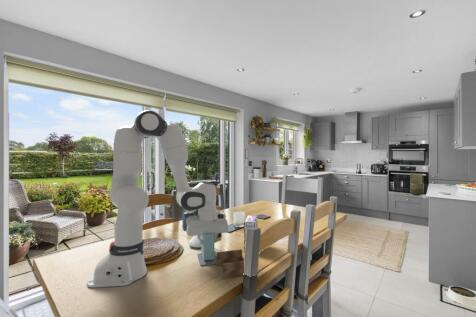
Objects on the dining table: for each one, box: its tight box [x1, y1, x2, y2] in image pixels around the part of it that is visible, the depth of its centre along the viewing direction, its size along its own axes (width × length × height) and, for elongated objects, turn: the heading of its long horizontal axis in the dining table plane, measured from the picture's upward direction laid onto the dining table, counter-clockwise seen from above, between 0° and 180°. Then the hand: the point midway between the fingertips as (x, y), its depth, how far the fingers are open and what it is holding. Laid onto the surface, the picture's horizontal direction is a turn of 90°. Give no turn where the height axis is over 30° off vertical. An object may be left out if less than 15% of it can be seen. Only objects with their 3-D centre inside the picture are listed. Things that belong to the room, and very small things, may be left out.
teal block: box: [200, 233, 215, 260], centre depth 118 cm, size 5×9×12 cm, turn 16°
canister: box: [181, 208, 199, 231], centre depth 167 cm, size 13×13×18 cm
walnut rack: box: [216, 249, 245, 280], centre depth 108 cm, size 12×13×6 cm
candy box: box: [243, 215, 259, 253], centre depth 132 cm, size 14×6×16 cm, turn 168°
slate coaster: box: [196, 251, 217, 267], centre depth 119 cm, size 9×13×1 cm
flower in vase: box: [185, 210, 201, 249], centre depth 136 cm, size 13×11×25 cm
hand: (207, 242), depth 118 cm, fingers closed on teal block, 5 cm apart
